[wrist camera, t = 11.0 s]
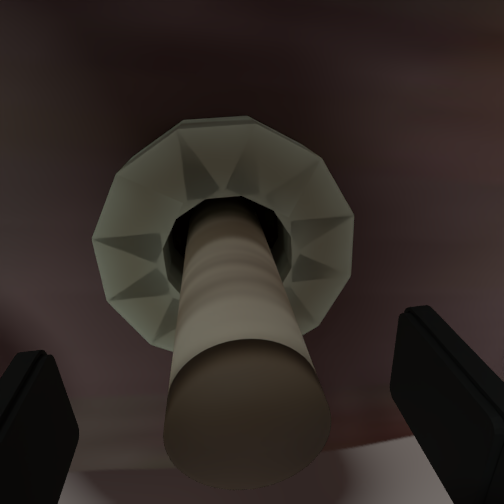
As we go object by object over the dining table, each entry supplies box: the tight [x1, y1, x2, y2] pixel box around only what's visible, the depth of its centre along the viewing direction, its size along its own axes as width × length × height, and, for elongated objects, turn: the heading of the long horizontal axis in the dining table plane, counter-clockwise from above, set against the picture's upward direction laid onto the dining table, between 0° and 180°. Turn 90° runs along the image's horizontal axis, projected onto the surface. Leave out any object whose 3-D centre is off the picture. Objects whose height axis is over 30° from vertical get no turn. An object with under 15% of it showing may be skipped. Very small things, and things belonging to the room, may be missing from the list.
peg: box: [163, 196, 331, 490], centre depth 16 cm, size 4×4×14 cm
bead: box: [92, 116, 354, 352], centre depth 20 cm, size 12×12×4 cm
